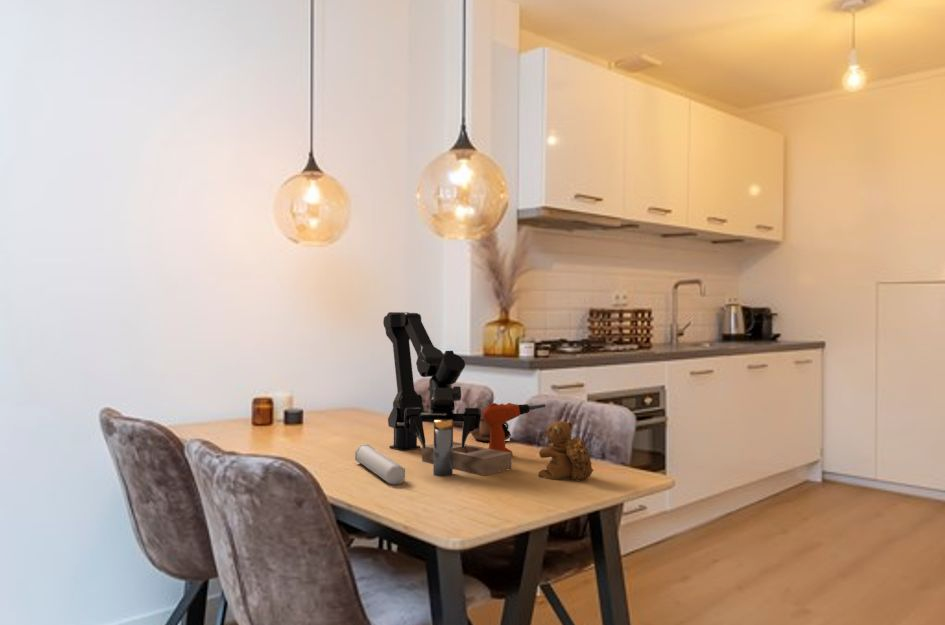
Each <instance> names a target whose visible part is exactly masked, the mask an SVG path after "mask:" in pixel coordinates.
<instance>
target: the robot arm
mask: <svg viewBox="0 0 945 625" xmlns="http://www.w3.org/2000/svg"><path fill="white" fill-rule="evenodd" d="M382 321H383V327H384V329H385V330H384V331H385V335H386V337H387V338H388V339H389V340H390V342H391V343H392V348H393V349H392V350H393V351H392V352H393V359H394V361H393V362H394V370H395V380H396V390H397V392H396V395H395V398H394V400H393V401H392V409H391V412H390V414H389V416H388V418H387V424H388V427H390V428H392V429H393V445H389V447H388V448H390V449H394V450H398V451H403V452H405V451H410V450H415V449H420V448H421V447H422V446H423V448H425V445H426V437H425V432H424V431H425V430H424V424H423V422H424V423H425V422H427V423H428V422H430V423H431V422H432V423H434V420H435V419H452V420H453V423H462V431H461V442H460V443H461V445H462V448H464V445H465V444H466V441H467V438H468V436H469V435H470V433H471V432H475V430H478V429H480V419H482V411H481V409H480V408H479V407H476V406H475V407H472V406H471V407H469V406H468V407H464V409H463V413H454V411H455V408H456V407H455V401H456V402H458V401H461V399H462V389H461V388H462V387H461V386H459V385H458V386H453V384H456V382H457V381H458V379H459V378H460V376H461V374H462V372H463V371H464V369H465V366H466V362H465V359H463V357H461V356H459V355H458V354H456V353H455V352H454V350H445V351H444V353H443V351H442V350H440V349H439V348H438V347H435V345H434V344H433V341H432V340H431V338H430V336H429V334H428V332H427V330H426V328H425V325H424V324H423V322H422V315H421V314H420V313H418V312H405V311H403V312H402V311H400V312H399V311H397V312H395V311H394V312H393V311H392V312H391V311H390V312H388V313H387V314H386V315H384V317H383V320H382ZM410 342H411V344H412V346H413V349H414V350H415V353H416V356H417V359H416V368H417V372H418V373H419V375H420V377H421V378H429V380H428V382H429V384H428V388H427V391H429V407H430V410H429V411H430V412H425V408H424V404H423V397H422V395H421V394H418V393H417V391H416V390H415V382H414V376H413V375H414V374H413V364H412V355H411V344H410ZM452 386H453V387H452ZM418 441H419V442H420V445H419V444H418Z"/></svg>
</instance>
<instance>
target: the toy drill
mask: <svg viewBox="0 0 945 625" xmlns="http://www.w3.org/2000/svg"><path fill="white" fill-rule="evenodd" d="M546 406H547V405H546V404H545V403H542V404H536V405H534V404H533V405H529V404H526V403H524V404H518V403H517V404H516V403H511V402H508V403H505V404H504V403H500V404H498V403H496V402H492V403H489V405H488V406H487V407H485V409H483V411H482V419H484V421H485V422H486V423H487V424H488V425H489V428H490V442H489V446H488V447H487V448H488V449H493V450H499V451H504V452H509V453H512V455H513V452H512V450H511V449H509V448H508V447H506V440H505V438H506V437H507V436H508V435H509V434H511V431H509V428H508V429H507V426H506V424H503V423H505V422H507V423H508V422H509V421H511V420H515V419H516V418H517V417H520V416H521V415H525V414H528V413H529V412H530V411H531V410H537V409H542V408H546Z"/></svg>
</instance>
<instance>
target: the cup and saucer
mask: <svg viewBox="0 0 945 625" xmlns="http://www.w3.org/2000/svg"><path fill="white" fill-rule="evenodd" d="M503 424H505V425H506V427H507V429H508V430H509V428H510V427H509V426H510V425H509V423H508V421H507V422H505V423H503ZM471 437H473V439H475V440H478V441H482V442H487V441H488V442H489V443H490V428H489V425H488V424H487V423H486V422H485V421H484V419H483V418H481V419H480V425H479V431H473V432H472V433H471ZM511 437H512V434H511V433H510V434H509V435H508V436H507V437H506V438H505V441H506V440H508V439H510V438H511Z"/></svg>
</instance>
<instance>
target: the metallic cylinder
mask: <svg viewBox="0 0 945 625" xmlns="http://www.w3.org/2000/svg"><path fill="white" fill-rule="evenodd" d="M453 442H454V422H453V420H452V419H435V420H434V422H433V444H434V464H432V465H433V468H432V471H433V476H435V477H436V476H437V477H450V476H452V475H453V471H454V470H453Z"/></svg>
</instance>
